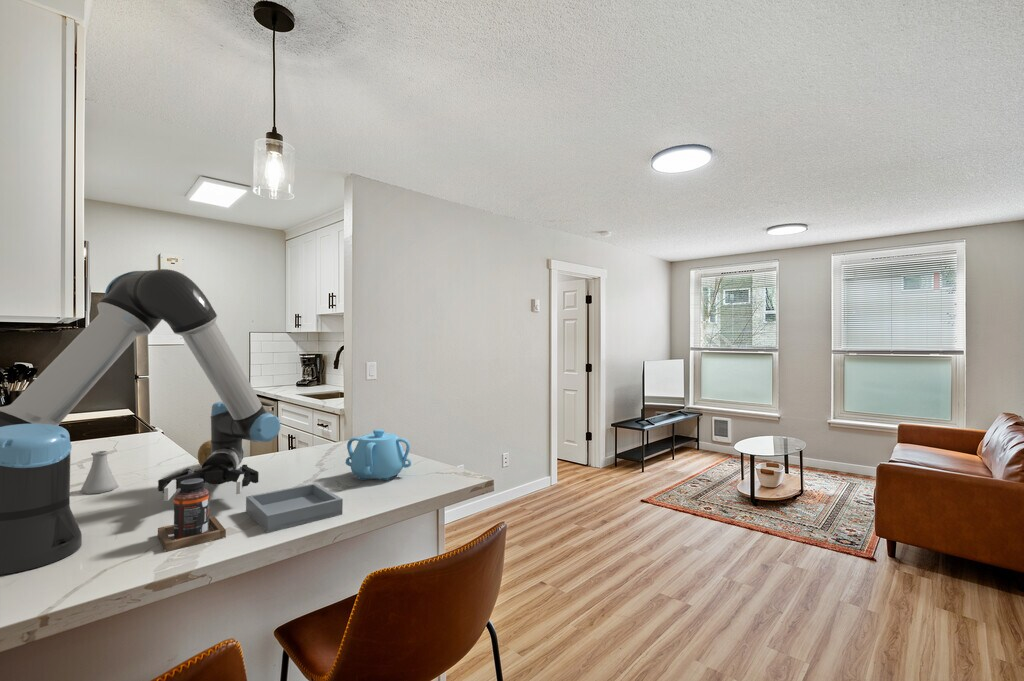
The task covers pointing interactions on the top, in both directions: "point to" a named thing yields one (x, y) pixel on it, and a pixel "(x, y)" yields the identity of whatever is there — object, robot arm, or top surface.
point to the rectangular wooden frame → (191, 540)
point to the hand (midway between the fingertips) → (202, 491)
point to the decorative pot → (378, 455)
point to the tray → (293, 506)
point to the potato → (204, 452)
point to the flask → (99, 475)
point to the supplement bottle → (191, 509)
